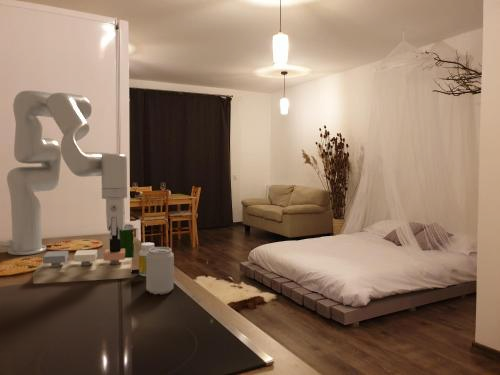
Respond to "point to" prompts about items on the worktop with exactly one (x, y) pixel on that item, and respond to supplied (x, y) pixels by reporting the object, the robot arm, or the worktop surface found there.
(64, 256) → the slate tile
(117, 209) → the robot arm
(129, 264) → the button board
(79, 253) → the cream tile
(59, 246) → the worktop surface
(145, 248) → the supplement bottle
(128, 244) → the beer can
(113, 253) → the terracotta tile
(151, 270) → the can
